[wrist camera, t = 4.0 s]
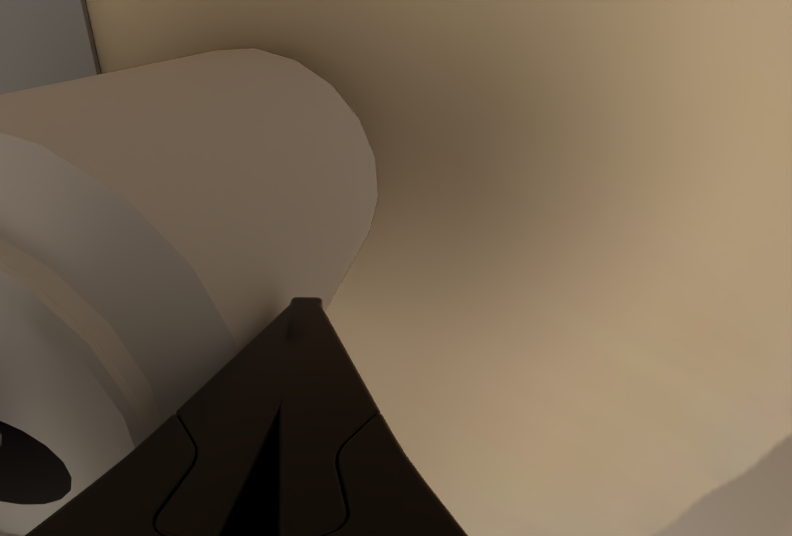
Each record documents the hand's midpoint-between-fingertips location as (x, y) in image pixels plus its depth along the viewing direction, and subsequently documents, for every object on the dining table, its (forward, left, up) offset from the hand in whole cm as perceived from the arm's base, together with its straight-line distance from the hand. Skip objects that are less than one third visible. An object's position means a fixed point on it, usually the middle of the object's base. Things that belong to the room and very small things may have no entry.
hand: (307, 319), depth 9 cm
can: (0, +2, -10) cm, 10 cm away
